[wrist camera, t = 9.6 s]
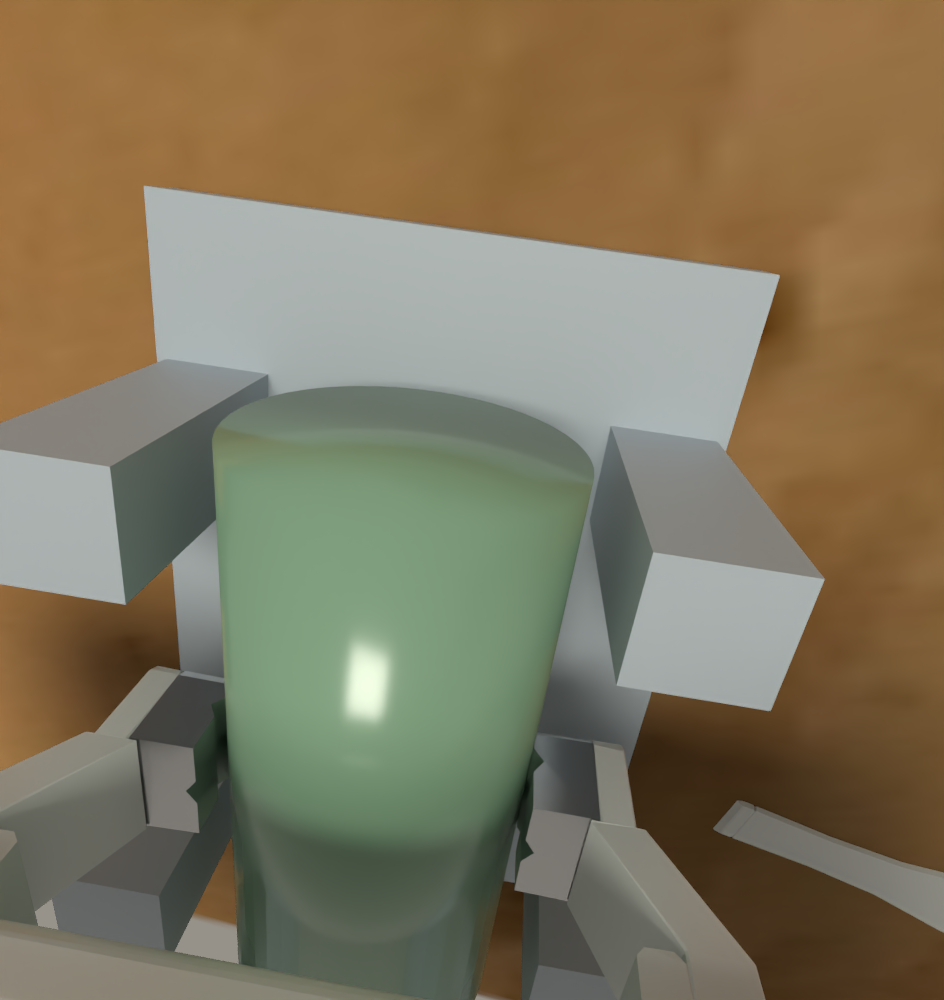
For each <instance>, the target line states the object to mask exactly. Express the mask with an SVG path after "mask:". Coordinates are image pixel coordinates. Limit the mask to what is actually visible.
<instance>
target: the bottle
mask: <svg viewBox="0 0 944 1000" xmlns="http://www.w3.org/2000/svg"><path fill="white" fill-rule="evenodd" d="M212 447H213V467H214V487H215V506H216V526H217V546H218V565H219V585H220V605H221V625H222V644H223V664H224V684H225V703H226V723H227V743H228V763H229V782H230V802H231V822H232V841H233V861H234V881H235V901H236V920H237V940H238V959H239V964H242V965H247V966H252V967H257V968H263V969H268V970H273V971H279V972H284V973H289V974H294V975H300V976H305V977H310V978H315V979H321V980H326V981H331V982H337V983H342V984H347V985H353V986H358V987H364V988H369V989H374V990H380V991H385V992H390V993H396V994H401V995H406V996H412V997H417V998H423V999H428V1000H475V998H476V995H477V993H478V990H479V987H480V983H481V979H482V975H483V971H484V967H485V962H486V958H487V953H488V949H489V945H490V940H491V936H492V931H493V927H494V922H495V918H496V913H497V909H498V904H499V900H500V896H501V891H502V887H503V882H504V878H505V873H506V869H507V864H508V860H509V856H510V851H511V847H512V842H513V838H514V833H515V829H516V824H517V818H518V813H519V809H520V804H521V800H522V795H523V791H524V788H525V784H526V780H527V773H528V769H529V764H530V760H531V755H532V751H533V747H534V742H535V739H536V735H537V731H538V726H539V722H540V718H541V713H542V709H543V704H544V700H545V695H546V691H547V686H548V682H549V677H550V673H551V669H552V664H553V660H554V655H555V651H556V646H557V642H558V637H559V633H560V629H561V624H562V620H563V615H564V611H565V606H566V602H567V597H568V593H569V588H570V584H571V580H572V575H573V571H574V566H575V562H576V557H577V553H578V548H579V544H580V540H581V535H582V531H583V526H584V522H585V517H586V513H587V508H588V504H589V499H590V495H591V491H592V486H593V482H594V467H593V464H592V461H591V459H590V457H589V456H588V455H587V453H586V452H585V450H584V449H583V448H582V447H581V446H580V445H579V444H578V443H576V442H575V441H574V440H573V439H571V438H570V437H569V436H567V435H566V434H564V433H563V432H561V431H559V430H558V429H556V428H554V427H553V426H551V425H549V424H547V423H545V422H543V421H541V420H538V419H536V418H534V417H531V416H529V415H526V414H524V413H521V412H518V411H515V410H513V409H510V408H507V407H503V406H500V405H497V404H493V403H490V402H486V401H482V400H478V399H474V398H469V397H464V396H459V395H454V394H448V393H442V392H436V391H428V390H420V389H411V388H400V387H383V386H339V387H324V388H315V389H306V390H299V391H293V392H287V393H283V394H279V395H274V396H270V397H267V398H264V399H261V400H257V401H254V402H252V403H250V404H247V405H245V406H243V407H241V408H239V409H237V410H236V411H234V412H232V413H230V414H229V415H228V416H227V417H226V418H224V419H223V420H222V421H221V422H220V424H219V425H218V426H217V428H216V429H215V431H214V434H213V438H212Z"/></svg>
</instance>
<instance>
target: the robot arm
mask: <svg viewBox="0 0 944 1000" xmlns="http://www.w3.org/2000/svg"><path fill="white" fill-rule="evenodd" d="M228 778H229V763H228V743H227V723H226V703H225V684H224V678H220V677H215V676H210V675H205V674H200V673H195V672H190V671H181V670H176V669H171V668H166V667H161V666H156V667H154V668H152V669H150V670H149V671H148V672H147V673H146V674H145V675H144V676H143V678H142V679H141V680H140V681H139V682H138V683H137V685H136V686H135V687H134V688H133V689H132V690H131V691H130V693H129V694H128V695H127V696H126V697H125V698H124V699H123V701H122V702H121V703H120V704H119V705H118V706H117V708H116V709H115V710H114V711H113V712H112V713H111V714H110V716H109V717H108V718H107V719H106V720H105V721H104V722H103V724H102V725H101V726H100V727H99V728H98V729H97V731H96V732H95V733H92V732H84V733H82V734H79V735H77V736H75V737H73V738H71V739H69V740H66V741H64V742H62V743H60V744H58V745H56V746H54V747H51V748H49V749H47V750H45V751H43V752H41V753H39V754H36V755H34V756H32V757H30V758H28V759H26V760H24V761H21V762H19V763H17V764H15V765H13V766H11V767H9V768H6V769H4V770H2V771H0V1000H428V999H423V998H417V997H412V996H406V995H401V994H396V993H390V992H385V991H380V990H374V989H369V988H364V987H358V986H353V985H347V984H342V983H337V982H331V981H326V980H321V979H315V978H310V977H305V976H300V975H294V974H289V973H284V972H279V971H273V970H268V969H263V968H257V967H252V966H247V965H242V964H236V963H231V962H225V961H220V960H214V959H210V958H205V957H199V956H194V955H188V954H183V953H178V952H173V951H168V950H162V949H157V948H152V947H147V946H141V945H136V944H131V943H125V942H120V941H115V940H109V939H104V938H99V937H93V936H88V935H83V934H77V933H72V932H67V931H62V930H56V929H51V928H45V927H40V926H38V924H37V919H36V915H35V911H36V910H37V909H39V908H40V907H41V906H43V905H44V904H45V903H47V902H48V901H49V900H51V899H52V898H54V897H55V896H56V895H58V894H59V893H60V892H62V891H63V890H64V889H66V888H67V887H68V886H70V885H71V884H72V883H74V882H75V881H77V880H78V879H79V878H81V877H82V876H83V875H85V874H86V873H87V872H89V871H90V870H91V869H93V868H94V867H95V866H97V865H98V864H100V863H101V862H102V861H104V860H105V859H106V858H108V857H109V856H110V855H112V854H113V853H114V852H116V851H117V850H118V849H120V848H121V847H123V846H124V845H125V844H127V843H128V842H129V841H131V840H132V839H133V838H135V837H136V836H137V835H139V834H140V833H141V832H143V831H144V830H146V828H147V826H146V825H148V826H154V827H161V828H168V829H174V830H181V831H188V832H194V833H200V831H201V829H202V827H203V825H204V824H205V822H206V820H207V818H208V817H209V815H210V813H211V811H212V809H213V808H214V806H215V804H216V802H217V801H218V799H219V796H218V784H219V783H221V782H223V781H224V780H226V779H228ZM517 828H518V830H519V831H520V834H519V838H518V843H517V848H516V856H515V886H514V890H516V891H521V892H525V893H530V894H535V895H540V896H544V897H549V898H554V899H559V900H563V901H568V902H567V905H568V907H569V909H570V911H571V913H572V915H573V917H574V919H575V920H576V922H577V924H578V926H579V928H580V930H581V932H582V934H583V936H584V938H585V940H586V942H587V943H588V945H589V947H590V949H591V951H592V953H593V955H594V957H595V959H596V961H597V963H598V965H599V966H600V968H601V970H602V972H603V974H604V976H605V978H606V980H607V982H608V984H609V986H610V988H611V989H612V991H613V993H614V995H615V997H616V999H617V1000H766V999H765V996H764V992H763V989H762V985H761V982H760V978H759V975H758V971H757V968H756V965H755V963H754V962H753V961H752V960H751V959H750V957H749V956H748V955H747V954H746V952H745V951H744V950H743V949H742V947H741V946H740V945H739V944H738V943H737V941H736V940H735V939H734V938H733V936H732V935H731V934H730V933H729V932H728V930H727V929H726V928H725V927H724V925H723V924H722V923H721V922H720V920H719V919H718V918H717V917H716V916H715V914H714V913H713V912H712V911H711V909H710V908H709V907H708V906H707V904H706V903H705V902H704V901H703V900H702V898H701V897H700V896H699V895H698V893H697V892H696V891H695V890H694V889H693V887H692V886H691V885H690V884H689V882H688V881H687V880H686V879H685V877H684V876H683V875H682V874H681V873H680V871H679V870H678V869H677V868H676V866H675V865H674V864H673V863H672V861H671V860H670V859H669V858H668V857H667V855H666V854H665V853H664V852H663V850H662V849H661V848H660V847H659V845H658V844H657V843H656V842H655V841H654V839H653V838H652V837H651V836H650V834H649V833H648V832H647V831H646V830H644V829H639V828H636V821H635V815H634V809H633V802H632V796H631V790H630V783H629V777H628V771H627V764H626V758H625V752H624V749H623V747H622V746H621V745H619V744H612V743H606V742H599V741H593V740H592V741H590V740H585V739H579V738H573V737H566V736H560V735H554V734H548V733H542V732H537V735H536V739H535V742H534V747H533V751H532V755H531V760H530V764H529V769H528V773H527V780H526V784H525V788H524V791H523V795H522V800H521V804H520V809H519V813H518V818H517Z"/></svg>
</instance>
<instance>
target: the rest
mask: <svg viewBox="0 0 944 1000" xmlns="http://www.w3.org/2000/svg"><path fill="white" fill-rule="evenodd" d="M144 195H145V208H146V221H147V235H148V248H149V261H150V274H151V287H152V300H153V314H154V327H155V340H156V353H157V363H155V364H152V365H150V366H147V367H144V368H142V369H139V370H137V371H134V372H131V373H129V374H126V375H124V376H121V377H119V378H116V379H113V380H111V381H108V382H106V383H103V384H100V385H98V386H95V387H93V388H90V389H87V390H85V391H82V392H80V393H77V394H75V395H72V396H69V397H67V398H64V399H62V400H59V401H56V402H54V403H51V404H49V405H46V406H43V407H41V408H38V409H36V410H33V411H31V412H28V413H25V414H23V415H20V416H18V417H15V418H12V419H10V420H7V421H5V422H2V423H0V584H3V585H9V586H15V587H21V588H27V589H33V590H39V591H45V592H52V593H58V594H64V595H70V596H76V597H82V598H88V599H94V600H100V601H106V602H112V603H118V604H124V605H126V604H127V603H128V602H129V601H130V600H131V599H132V598H133V597H134V596H135V595H137V594H138V593H139V592H140V591H141V590H142V589H143V588H144V587H145V586H146V585H147V584H148V583H149V582H150V581H151V580H152V579H154V578H155V577H156V576H157V575H158V574H159V573H160V572H161V571H162V570H163V569H164V568H165V567H166V566H167V565H168V564H169V563H171V562H172V564H173V577H174V590H175V603H176V617H177V630H178V643H179V656H180V669H181V671H190V672H195V673H200V674H205V675H210V676H215V677H220V678H224V664H223V644H222V625H221V605H220V585H219V565H218V546H217V526H216V506H215V487H214V467H213V447H212V438H213V434H214V431H215V429H216V428H217V426H218V425H219V424H220V422H221V421H222V420H223V419H224V418H226V417H227V416H228V415H229V414H230V413H232V412H234V411H236V410H237V409H239V408H241V407H243V406H245V405H247V404H250V403H252V402H254V401H257V400H261V399H264V398H267V397H270V396H274V395H279V394H283V393H287V392H293V391H299V390H306V389H315V388H324V387H339V386H383V387H400V388H411V389H420V390H428V391H436V392H442V393H448V394H454V395H459V396H464V397H469V398H474V399H478V400H482V401H486V402H490V403H493V404H497V405H500V406H503V407H507V408H510V409H513V410H515V411H518V412H521V413H524V414H526V415H529V416H531V417H534V418H536V419H538V420H541V421H543V422H545V423H547V424H549V425H551V426H553V427H554V428H556V429H558V430H559V431H561V432H563V433H564V434H566V435H567V436H569V437H570V438H571V439H573V440H574V441H575V442H576V443H578V444H579V445H580V446H581V447H582V448H583V449H584V450H585V452H586V453H587V455H588V456H589V457H590V459H591V461H592V464H593V467H594V482H593V486H592V491H591V495H590V499H589V504H588V508H587V513H586V517H585V522H584V526H583V531H582V535H581V540H580V544H579V548H578V553H577V557H576V562H575V566H574V571H573V575H572V580H571V584H570V588H569V593H568V597H567V602H566V606H565V611H564V615H563V620H562V624H561V629H560V633H559V637H558V642H557V646H556V651H555V655H554V660H553V664H552V669H551V673H550V677H549V682H548V686H547V691H546V695H545V700H544V704H543V709H542V713H541V718H540V722H539V726H538V731H537V732H542V733H548V734H554V735H560V736H566V737H573V738H579V739H585V740H590V741H592V740H593V741H599V742H606V743H612V744H619V745H621V746H622V747H623V749H624V752H625V758H626V764H627V771H628V767H629V764H630V761H631V758H632V754H633V751H634V748H635V745H636V741H637V738H638V735H639V732H640V728H641V725H642V722H643V719H644V715H645V712H646V709H647V706H648V702H649V699H650V696H651V693H652V692H657V693H663V694H669V695H675V696H681V697H687V698H693V699H699V700H705V701H712V702H718V703H724V704H730V705H736V706H742V707H748V708H754V709H760V710H766V711H771V709H772V706H773V704H774V701H775V699H776V697H777V694H778V692H779V689H780V687H781V684H782V682H783V680H784V677H785V675H786V672H787V670H788V667H789V665H790V663H791V660H792V658H793V655H794V653H795V650H796V648H797V646H798V643H799V641H800V638H801V636H802V633H803V631H804V629H805V626H806V624H807V621H808V619H809V616H810V614H811V612H812V609H813V607H814V604H815V602H816V599H817V597H818V594H819V592H820V590H821V587H822V585H823V582H824V580H825V579H824V578H823V576H822V575H821V574H820V572H819V571H818V570H817V569H816V567H815V566H814V565H813V563H812V562H811V561H810V560H809V558H808V557H807V556H806V555H805V553H804V552H803V551H802V549H801V548H800V547H799V546H798V544H797V543H796V542H795V540H794V539H793V538H792V537H791V535H790V534H789V533H788V531H787V530H786V529H785V528H784V526H783V525H782V524H781V522H780V521H779V520H778V519H777V517H776V516H775V515H774V513H773V512H772V511H771V510H770V508H769V507H768V506H767V505H766V503H765V502H764V501H763V499H762V498H761V497H760V496H759V494H758V493H757V492H756V490H755V489H754V488H753V487H752V485H751V484H750V483H749V481H748V480H747V479H746V478H745V476H744V475H743V474H742V472H741V471H740V470H739V469H738V467H737V466H736V465H735V463H734V462H733V461H732V460H731V458H730V457H729V456H728V454H727V453H726V449H727V446H728V442H729V439H730V436H731V433H732V429H733V426H734V423H735V420H736V416H737V413H738V410H739V407H740V403H741V400H742V397H743V394H744V390H745V387H746V384H747V381H748V377H749V374H750V371H751V368H752V364H753V361H754V358H755V355H756V351H757V348H758V345H759V342H760V338H761V335H762V332H763V329H764V325H765V322H766V319H767V316H768V312H769V309H770V306H771V303H772V299H773V296H774V293H775V290H776V286H777V283H778V280H779V277H780V275H777V274H773V273H769V272H765V271H761V270H754V269H747V268H740V267H733V266H726V265H719V264H712V263H704V262H697V261H690V260H683V259H676V258H669V257H662V256H655V255H648V254H640V253H633V252H626V251H619V250H612V249H605V248H598V247H591V246H583V245H576V244H569V243H562V242H555V241H548V240H541V239H534V238H527V237H519V236H512V235H505V234H498V233H491V232H484V231H477V230H470V229H462V228H455V227H448V226H441V225H434V224H427V223H420V222H413V221H406V220H398V219H391V218H384V217H377V216H370V215H363V214H356V213H349V212H341V211H334V210H327V209H320V208H313V207H306V206H299V205H292V204H285V203H277V202H270V201H263V200H256V199H249V198H242V197H235V196H228V195H220V194H213V193H206V192H199V191H192V190H185V189H178V188H168V187H154V186H144ZM218 796H219V799H218V801H217V802H216V804H215V806H214V808H213V809H212V811H211V813H210V815H209V817H208V818H207V820H206V822H205V824H204V825H203V827H202V829H201V831H200V833H194V832H188V831H181V830H174V829H168V828H161V827H154V826H148V825H146V826H147V828H146V830H144V831H143V832H141V833H140V834H139V835H137V836H136V837H135V838H133V839H132V840H131V841H129V842H128V843H127V844H125V845H124V846H123V847H121V848H120V849H118V850H117V851H116V852H114V853H113V854H112V855H110V856H109V857H108V858H106V859H105V860H104V861H102V862H101V863H100V864H98V865H97V866H95V867H94V868H93V869H91V870H90V871H89V872H87V873H86V874H85V875H83V876H82V877H81V878H79V879H78V880H77V881H75V882H74V883H72V884H71V885H70V886H68V887H67V888H66V889H64V890H63V891H62V892H60V893H59V894H58V895H56V896H55V897H54V898H52V901H53V906H54V910H55V915H56V919H57V924H58V928H59V930H62V931H67V932H72V933H77V934H83V935H88V936H93V937H99V938H104V939H109V940H115V941H120V942H125V943H131V944H136V945H141V946H147V947H152V948H157V949H162V950H168V951H173V952H174V951H175V949H176V947H177V945H178V943H179V941H180V939H181V937H182V935H183V933H184V931H185V929H186V927H187V924H188V923H189V921H190V919H191V917H192V915H193V913H194V911H195V909H196V907H197V905H198V903H199V901H200V899H201V897H202V895H203V893H204V891H205V888H206V886H207V884H208V882H209V880H210V878H211V876H212V874H213V872H214V870H215V868H216V866H217V864H218V862H219V860H220V858H221V856H222V854H223V852H224V850H225V848H226V846H227V844H228V842H229V840H230V838H231V836H232V822H231V802H230V782H229V778H228V779H226V780H224V781H223V782H221V783H219V784H218ZM519 834H520V831H519V830H518V828H517V824H516V829H515V833H514V838H513V842H512V847H511V851H510V856H509V860H508V864H507V869H506V873H505V878H504V881H507V882H513V883H515V856H516V848H517V843H518V838H519ZM567 902H568V901H563V900H559V899H554V898H549V897H544V896H540V895H535V894H530V893H525V892H524V899H523V940H522V980H521V1000H617V999H616V997H615V995H614V993H613V991H612V989H611V988H610V986H609V984H608V982H607V980H606V978H605V976H604V974H603V972H602V970H601V968H600V966H599V965H598V963H597V961H596V959H595V957H594V955H593V953H592V951H591V949H590V947H589V945H588V943H587V942H586V940H585V938H584V936H583V934H582V932H581V930H580V928H579V926H578V924H577V922H576V920H575V919H574V917H573V915H572V913H571V911H570V909H569V907H568V905H567Z"/></svg>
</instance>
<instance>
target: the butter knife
mask: <svg viewBox="0 0 944 1000" xmlns="http://www.w3.org/2000/svg"><path fill="white" fill-rule="evenodd" d="M713 829H714V830H715V831H717V832H719V833H721V834H723V835H726V836H728V837H732V838H734V839H736V840H739V841H742V842H744V843H747V844H750V845H752V846H755V847H758V848H760V849H763V850H766V851H768V852H771V853H774V854H776V855H779V856H782V857H785V858H787V859H790V860H793V861H795V862H798V863H801V864H803V865H806V866H808V867H811V868H813V869H815V870H818V871H820V872H822V873H825V874H827V875H829V876H832V877H834V878H836V879H839V880H841V881H843V882H846V883H848V884H850V885H853V886H855V887H857V888H860V889H862V890H864V891H867V892H869V893H871V894H874V895H876V896H877V897H879V898H881V899H883V900H885V901H886V902H888V903H890V904H892V905H894V906H896V907H897V908H899V909H901V910H903V911H905V912H906V913H908V914H910V915H912V916H914V917H916V918H917V919H919V920H921V921H923V922H925V923H926V924H928V925H930V926H932V927H934V928H936V929H938V930H939V931H941V932H943V933H944V873H943V872H939V871H935V870H931V869H927V868H924V867H920V866H916V865H912V864H908V863H904V862H900V861H898V860H895V859H892V858H889V857H886V856H884V855H881V854H878V853H875V852H872V851H870V850H867V849H864V848H861V847H858V846H856V845H853V844H850V843H847V842H844V841H841V840H839V839H836V838H833V837H830V836H828V835H825V834H823V833H821V832H818V831H816V830H813V829H811V828H808V827H806V826H804V825H801V824H799V823H796V822H794V821H791V820H789V819H787V818H784V817H782V816H779V815H777V814H774V813H772V812H770V811H767V810H765V809H762V808H760V807H757V806H755V807H754V805H752V804H750V803H747V802H744V801H739V800H737V801H736V802H735V804H734V805H733V806H732V807H731V808H730V809H729V810H728V812H727V813H726V814H725V815H724V816H723V817H722V819H721V820H720V821H719V822H718V823H717V824H716V826H715V827H714V828H713Z"/></svg>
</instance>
